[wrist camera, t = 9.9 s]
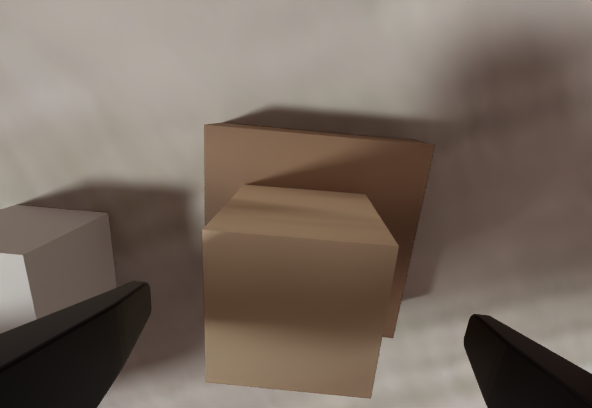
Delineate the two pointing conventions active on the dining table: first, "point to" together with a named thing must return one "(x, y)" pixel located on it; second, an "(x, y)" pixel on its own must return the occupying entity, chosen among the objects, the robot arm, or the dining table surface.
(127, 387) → the dining table surface
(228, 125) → the walnut block
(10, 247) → the grey cube
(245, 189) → the maple cube
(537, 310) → the dining table surface
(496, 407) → the robot arm
